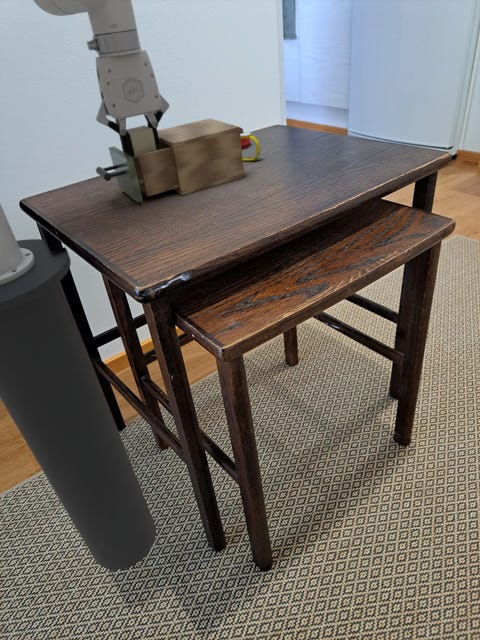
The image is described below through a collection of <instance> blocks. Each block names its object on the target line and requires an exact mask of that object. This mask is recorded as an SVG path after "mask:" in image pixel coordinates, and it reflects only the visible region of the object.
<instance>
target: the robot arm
mask: <svg viewBox="0 0 480 640" xmlns="http://www.w3.org/2000/svg"><path fill="white" fill-rule="evenodd" d="M32 1H33V2H34V3H35V5H36V6H37V7H38V8H39V9H41V10H42V11H43V12H45V13H47V14H49V15H52V16H57V17H65V16H72V15H76V14H77V15H78V14H84V13H87V15H88V16H87V17H88V19H89V24H90V28H91V31H92V39H90V40H89V41H88V40H87V41H86V46H87V49H88V50H89V51H95V52H96V54H98V56H96V57H95V69H96V76H97V82H98V83H97V84H98V88H99V94H100V99H101V103H100V105H99V108H98V111H97V115H96V117H95V120H96V122H98V123H99V124H101V125H104V126H105V127H108V128H110V129H111V130H113V131H114V132H115V133H117V134H118V136H119V139H120V144H121V149H122V148H123V150H122V152H123V151H124V152H126V153H127V154H128V155H129V156H131V157H132V156H134V151H133V147H132V143H131V139H130V135H128V134H127V131H126V129H127V119H128V118H133V117H137V116H143V117H144V119H145V121H146V123H147V124H146V126H147V127H149V128H152V130H153V135H154V140H155V145H156V149H157V150H159V148H158V144H159V137H158V132H157V131H158V127H159V124H160V121H161V120H162V118H163V117H164V114H165V113H166V112H167V111H168V109H169V108H170V104H169V102H168V101H167V100H166V99H165V98H164V97H163V96H162V94H160V89H159V86H158V82H157V78H156V75H155V72H154V68H153V64H152V62H151V59H150V56H149V53H148V52H147V50H146V49H142V47H141V42H140V37H139V32H138V26H137V22H136V16H135V12H134V11H135V10H134V8H133V1H132V0H32ZM107 116H108V117H111V118H113V119H114V120H115V121H113V120H111V119H109V118H108V117H107ZM17 241H18V240H17V238H16V237H15V234H14V231H13V229H12V227H11V225H10V222H9V220H8V218H7V215H6V213H5V210H4V209H3V206H2V204H1V203H0V286H1V285H4V284H6V283H9V282H11V281H13V280H15V279H17V278H19V277H20V276H22V275H24V274H25V273H26V272H28V271H29V270H30V269H31V268H32V266H33V265H34V263H35V258H34V255H33V253H32V252H31V251H30V250H27V249H24V248H19V246H18V243H17Z"/></svg>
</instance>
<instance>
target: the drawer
mask: <svg viewBox="0 0 480 640" xmlns="http://www.w3.org/2000/svg"><path fill="white" fill-rule="evenodd" d="M158 148H159V150H157V151H153V152H149V153H145V154H141V155H137V157H135V156H132V157H131V156H129V155H128V154H127V153H126V152H124V151H123V148H122V147H121V149H120V148H118V147H116V146H109V147H108V151H109V155H110V159H111V162H112V165H110V166H107V167H101V166H97V167H96V169H95V172H96V174H97V175H99V176H100V178H102V179H103V180H105V181H106V182H109V181H111V180H112V178H115V177H116V181H117V185H118V188H119V189H121V191H123V192H124V193H125V194H127V196H129V197H130V198H131V199H133V200H134V201H135V202H136V203H140V202H143V201H144V199H143V196H142V194H143V195H145V196H146V197H151V196H154V195H158V194H162V193H165V192H168V191H172V190H174V189H176V188H179V181H178V176H177V171H176V165H175V160H174V155H173V149H172V146H169V145H167V144H165V143H163V142H161V141H159V144H158ZM110 171H114V172H112V173H109V172H110Z"/></svg>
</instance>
